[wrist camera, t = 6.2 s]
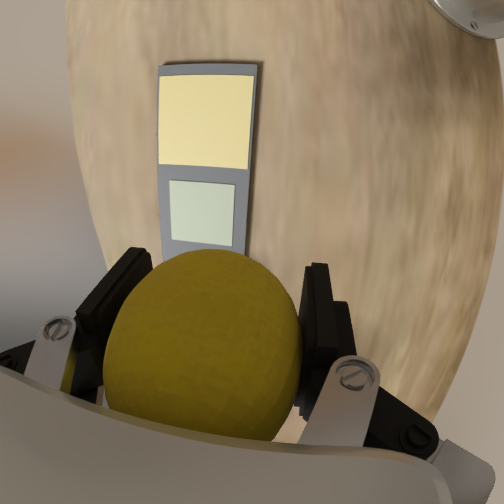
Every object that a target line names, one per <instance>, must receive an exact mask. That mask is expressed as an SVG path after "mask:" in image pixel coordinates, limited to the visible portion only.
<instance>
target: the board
mask: <svg viewBox="0 0 504 504" xmlns="http://www.w3.org/2000/svg"><path fill="white" fill-rule="evenodd" d="M257 73H258V65H253V64H178V65H163V66H159V67H158V91H157V172H158V198H159V216H160V231H161V244H162V256H163V262H165V261H167V260H169V259H171V258H173V257H175V256H177V255H179V254H182V253H185V252H189V251H195V250H200V249H222V250H229V251H232V252H236V253H239V254H243V255H245V246H246V230H247V215H248V200H249V185H250V171H251V156H252V142H253V128H254V114H255V100H256V86H257Z"/></svg>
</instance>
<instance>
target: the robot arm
mask: <svg viewBox="0 0 504 504" xmlns="http://www.w3.org/2000/svg"><path fill="white" fill-rule="evenodd" d="M429 1H430V2H431V4H432V5H433V6H434V7H435V8H436V9H437V10H438V11H439V12H440V13H441V14H442V15H443V16H444V17H446V18H447V19H448V20H449V21H450V22H451V23H453V24H454V25H456V26H457V27H459V28H460V29H462V30H464V31H465V32H467V33H469V34H471V35H474V36H477V37H480V38H485V39H498V38H503V37H504V0H429ZM152 270H153V267H152V261H151V255H150V253H149V252H147V251H146V249H145V248H137V247H130V248H129V249H128V250H127V251H126V252H125V253H124V255H123V256H122V257H121V258H120V259H119V260H118V261H117V262H116V264H115V265H114V266H113V267H112V268H111V269H110V270H109V272H108V273H107V274H106V275H105V276H104V277H103V279H102V280H101V281H100V282H99V283H98V285H97V286H96V287H95V288H94V289H93V291H92V292H91V293H90V294H89V295H88V297H87V298H86V299H85V300H84V302H83V303H82V304H81V305H80V306H79V308H78V309H77V310H76V311H75V312H76V314H77V315H76V316H75V318H74V319H73V318H72V317H69V316H65V315H61V316H56V317H53V318H51V319H49V320H48V321H46V323H44V324H43V326H42V327H41V329H40V331H39V334H38V336H37V339H36V340H34V341H31V342H28V343H26V344H23V345H20V346H18V347H15V348H12V349H9V350H6V351H4V352H2V353H0V504H486V502H487V499H488V497H489V495H490V493H491V491H492V489H493V487H494V483H495V472H494V470H493V468H492V466H490V465H489V464H488V463H487V462H485V461H483V460H482V459H480V458H478V457H477V456H475V455H473V454H471V453H470V452H468V451H466V450H464V449H463V448H461V447H460V446H458V445H456V444H455V443H453V442H451V441H450V440H448V439H446V440H445V441H443V440H441V439H439V436H438V432H437V430H436V428H435V426H434V425H433V424H432V423H431V422H429V421H428V420H427V419H425V418H424V417H422V416H421V415H420V414H418V413H417V412H415V411H414V410H412V409H411V408H410V407H408V406H407V405H405V404H404V403H402V402H401V401H400V400H398V399H397V398H395V397H394V396H393V395H391V394H390V393H388V392H387V391H386V390H384V389H383V388H381V387H380V386H379V384H380V373H379V370H378V368H377V367H376V366H375V365H374V363H372V362H371V361H369V360H368V359H366V358H363V357H361V356H357V353H356V347H355V341H354V335H353V329H352V324H351V318H350V313H349V307H348V304H347V302H345V301H333V295H332V288H331V281H330V275H329V268H328V264H325V263H313V262H312V265H311V266H306V267H305V274H304V281H303V288H302V295H301V302H300V309H299V315H298V319H299V322H300V326H301V330H302V337H303V357H302V368H301V376H300V383H299V388H298V391H297V395H296V398H295V401H294V406H296V407H300V410H299V416H303V419H304V420H305V421H307V424H306V426H305V428H304V431H303V433H302V435H301V437H300V439H299V441H298V443H297V444H292V443H280V442H269V441H259V440H250V439H242V438H235V437H228V436H221V435H215V434H209V433H204V432H198V431H193V430H188V429H183V428H179V427H174V426H170V425H165V424H161V423H157V422H153V421H149V420H146V419H142V418H138V417H135V416H131V415H128V414H124V413H121V412H118V411H115V410H111V409H108V408H105V407H102V402H103V394H104V381H103V361H104V356H105V350H106V346H107V343H108V339H109V336H110V333H111V331H112V328H113V325H114V323H115V320H116V318H117V315H118V313H119V311H120V309H121V307H122V305H123V303H124V301H125V300H126V298H127V297H128V295H129V294H130V293H131V291H132V290H133V289H134V288H135V287H136V286H137V284H138V283H139V282H140V281H141V280H142V279H143V278H145V277H146V276H147V275H148V274H149V273H150V272H151V271H152Z"/></svg>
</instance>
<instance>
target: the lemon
mask: <svg viewBox="0 0 504 504" xmlns="http://www.w3.org/2000/svg"><path fill="white" fill-rule="evenodd" d="M302 357H303V337H302V330H301V326H300V322H299V319H298V316H297V313H296V309H295V306H294V304H293V301H292V299H291V297H290V296H289V294H288V293H287V291H286V290H285V288H284V287H283V285H282V284H281V282H280V281H279V280H278V278H277V277H276V276H274V275H273V274H272V273H271V272H270V271H269V270H268V269H266V268H265V267H264V266H263V265H262V264H260V263H258V262H257V261H255V260H253V259H251V258H249V257H247V256H245V255H243V254H239V253H236V252H232V251H229V250H222V249H200V250H195V251H189V252H185V253H182V254H179V255H177V256H175V257H173V258H171V259H169V260H167V261H165V262H163V263H161V264H160V265H158V266H157V267H155V268H154V269H153V270H152V271H151V272H150V273H149V274H148V275H147V276H146V277H145V278H143V279H142V280H141V281H140V282H139V283H138V284H137V286H136V287H135V288H134V289H133V290H132V291H131V293H130V294H129V295H128V297H127V298H126V300H125V301H124V303H123V305H122V307H121V309H120V311H119V313H118V315H117V318H116V320H115V323H114V325H113V328H112V331H111V333H110V336H109V339H108V343H107V346H106V350H105V356H104V361H103V381H104V389H105V396H106V400H107V403H108V406H109V409H111V410H115V411H118V412H121V413H124V414H128V415H131V416H135V417H138V418H142V419H146V420H149V421H153V422H157V423H161V424H165V425H170V426H174V427H179V428H183V429H188V430H193V431H198V432H204V433H209V434H215V435H221V436H228V437H235V438H242V439H250V440H259V441H269V442H271V441H272V440H273V439H274V438H275V436H276V435H277V433H278V432H279V430H280V428H281V427H282V425H283V424H284V422H285V420H286V419H287V417H288V415H289V413H290V411H291V408H292V406H293V404H294V401H295V398H296V395H297V391H298V388H299V383H300V376H301V368H302Z"/></svg>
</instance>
